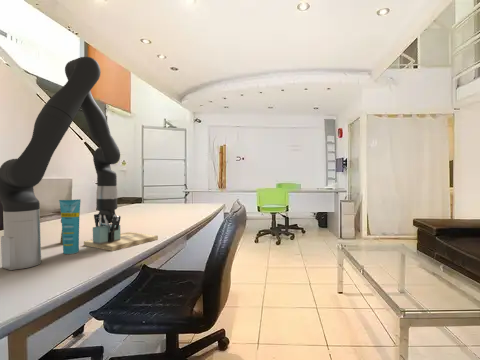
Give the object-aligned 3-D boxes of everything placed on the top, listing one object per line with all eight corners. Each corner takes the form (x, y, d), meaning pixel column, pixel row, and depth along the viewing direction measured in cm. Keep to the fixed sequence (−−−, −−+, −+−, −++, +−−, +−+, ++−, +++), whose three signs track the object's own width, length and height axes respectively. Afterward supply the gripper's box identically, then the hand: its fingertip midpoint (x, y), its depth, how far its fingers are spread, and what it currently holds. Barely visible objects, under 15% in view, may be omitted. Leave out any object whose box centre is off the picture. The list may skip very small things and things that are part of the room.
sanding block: (99, 244, 114) (99, 228, 114) (92, 242, 116) (92, 227, 116) (120, 240, 121) (120, 225, 121) (113, 238, 124) (113, 224, 124)
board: (112, 250, 111) (112, 246, 111) (83, 245, 120) (83, 241, 120) (157, 239, 129) (157, 235, 129) (130, 235, 139) (129, 231, 139)
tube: (57, 254, 106) (55, 200, 106) (63, 251, 111) (62, 199, 110) (79, 253, 107) (78, 199, 107) (84, 250, 112) (83, 198, 111)
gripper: (87, 197, 119) (87, 240, 119) (109, 198, 112) (109, 244, 112) (104, 196, 126) (104, 237, 126) (126, 197, 118) (126, 241, 118)
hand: (107, 240), depth 119 cm, fingers closed on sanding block, 4 cm apart
